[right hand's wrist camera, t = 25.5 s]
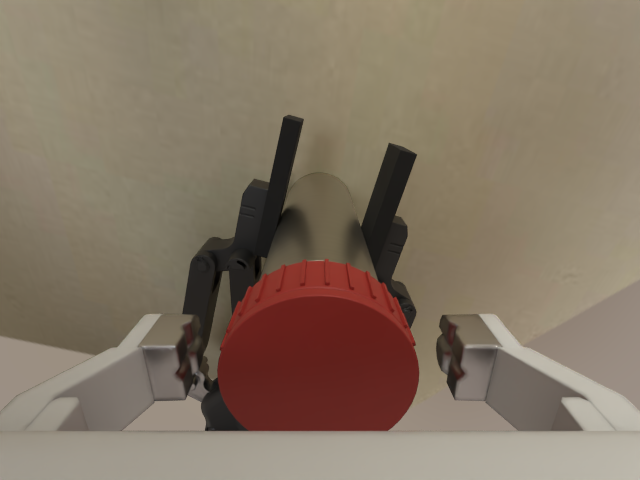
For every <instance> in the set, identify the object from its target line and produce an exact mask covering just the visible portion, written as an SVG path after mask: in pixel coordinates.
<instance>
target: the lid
mask: <svg viewBox="0 0 640 480" xmlns="http://www.w3.org/2000/svg"><path fill="white" fill-rule="evenodd" d="M415 345H416V344H415V341H414V338H413V336H412V333H411V331H410V328H409V326H408V323H407V321H406V318H405V316H404V313H403V312H402V310H401V307H400V305H399V302H398V300H397V298H396V297H394V298H393V297H392V295H391V294H390V293H389V292H388V290H387V287H386V284H385V283H384V282H383V283H382V284H381V283H380V282H378V281H377V280H376V279H375V278H373V277H372V276H371V275H370V272H368V271H366V272H363V271H361V270H359V269H357V268H355V267H352V266H351V265H350V263H346V264H342V263H337V262H331V261H329V259H325V261H307V260H306V259H305V260H302V262H300V263H295V264H292V265H288V266H285V264H284V265H281V268H280V269H278V270H276V271H273V272H272V273H270V274H268V275H267V274H266V273H265V274H264V275H263V276H262V279H261V280H260V281H259V282H257V283H256V284H255V285H254V286H253V287H251V286H249V287H248V289H247V291H246V294H245V297H244V298H243V300H242V302H240V301H238V303H237V305H236V308H235V310H234V313H233V315H232V318H231V320H230V323H229V325H228V328H227V330H226V334H225V337H224V339H223V342H222V344H221V347H220V350H221V354H220V357H219V362H218V370H217V371H218V384H219V388H220V392H221V395H222V398H223V400H224V402H225V404H226V406H227V408H228V409H229V411H230V412H231V414H232V415H233V416H234V417H235V419H236V420H237V421H238V422H239V423H240V424H241V425H242V426H243V427H245V428H246V429H247V430H249V431H388V430H389V429H391V428H392V427H393V426H394V425H395V424H396V423H397V422H398V421H399V420H400V419H401V418H402V417H403V416H404V414H405V413H406V412H407V410H408V409H409V407H410V405H411V404H412V402H413V399H414V397H415V394H416V391H417V387H418V382H419V366H418V360H417V356H416V352H415V349H414V347H413V346H415Z"/></svg>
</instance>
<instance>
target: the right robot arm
mask: <svg viewBox="0 0 640 480" xmlns="http://www.w3.org/2000/svg"><path fill="white" fill-rule="evenodd" d="M200 327H201V325H200V320H199V317H198V316H197V315H196V314H146V315H144V316H143V317H142V318H141V319H140V321H139V322H138V323H137V324H136V325H135V327H134V328H133V329H132V330H131V331H130V333H129V334H128V335H127V336H126V337H125V338H124V340H123V341H122V342H121V343H120V344H119V346H118V347H112V348H110V349H108V350H106V351H104V352H102V353H100V354H98V355H96V356H94V357H92V358H90V359H88V360H86V361H84V362H82V363H80V364H78V365H76V366H74V367H72V368H70V369H68V370H66V371H64V372H62V373H60V374H58V375H56V376H54V377H53V378H50V379H49V380H47V381H45V382H43V383H41V384H39V385H37V386H35V387H33V388H31V389H29V390H27V391H25V392H23V393H21V394H19V395H17V396H16V397H15V398H14V399H13V400H12V401H11V402H10V403H9V404H7V405H6V406H5V407H4V408H3V409H2V410H1V411H0V480H640V411H639V410H638V409H637V408H636V407H635V406H634V405H633V404H632V403H631V402H630V401H629V400H628V399H627V398H625V397H624V396H623V395H621V394H619V393H617V392H615V391H613V390H611V389H609V388H607V387H605V386H603V385H601V384H599V383H597V382H595V381H593V380H591V379H589V378H587V377H585V376H583V375H581V374H580V373H578V372H576V371H574V370H572V369H570V368H568V367H566V366H564V365H562V364H560V363H558V362H556V361H554V360H552V359H550V358H548V357H546V356H544V355H542V354H540V353H538V352H536V351H534V350H532V349H530V348H528V347H522V346H521V345H520V343H519V342H518V341H517V340H516V339H515V337H514V336H513V335H512V334H511V333H510V331H509V330H508V329H507V328H506V327H505V325H504V324H503V323H502V322H501V321H500V319H499V318H498V317H497V316H496V315H494V314H467V315H442V317H441V319H440V325H439V327H440V329H441V331H442V333H443V334H442V335H441V336H440V337H439V338H438V339H437V346H436V352H437V360H438V364H439V366H440V368H441V371H443V372H444V373H445V374H447V375H448V376H447V384H448V386H449V388H450V390H451V393H452V395H453V397H454V399H455V400H468V401H486V403H487V404H488V405H489V406H490V407H491V408H493V409H494V410H495V411H496V412H497V413H498V414H500V415H501V416H502V417H503V418H504V419H505V420H507V421H508V422H509V423H510V424H511V425H512V426H513V427H515V428H516V429H517V430H518V431H122V430H123V429H124V428H125V427H127V426H128V425H129V424H130V423H131V422H132V421H134V420H135V419H136V418H137V417H138V416H139V415H141V414H142V413H143V412H144V411H145V410H146V409H148V408H149V407H150V406H151V405H152V404H153V403H154V401H172V400H185V399H186V397H187V395H188V393H189V391H190V388H191V386H192V384H193V376H192V375H193V374H195V373H196V372H197V371H199V368H200V366H201V364H202V359H203V354H204V345H203V339H202V338H201V337H200V336H199V335H198V334H197V333H198V331H199V329H200Z"/></svg>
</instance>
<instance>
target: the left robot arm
mask: <svg viewBox="0 0 640 480" xmlns="http://www.w3.org/2000/svg"><path fill="white" fill-rule="evenodd" d="M303 121H304V119H302V118H298V117H295V116H291V115H287V116H285V117H284V118H283V122H282V127H281V132H280V136H279V141H278V146H277V150H276V155H275V159H274V164H273V169H272V173H271V178H270V183H268V182H265V181H261V180H257V179H254V180H253V181H252V182H251V183H250V184H249V186H248V187H247V189H246V190H245V192H244V193H243V196H242V201H241V207H240V212H239V217H238V222H237V228H236V233H235V237H234V238H231V239H223V240H222V239H220V238H218V237H213V238H210V239H209V240H207V242H206V243H205V244H204V245H203V246H202V248H201V249H200V250H199V251H198V253H197V254H196V255H195V256H194V258H193V259H192V261H191V264H190V270H189V277H188V283H187V289H186V295H185V302H184V308H183V314H196V315H197V316H198V317H199V320H200V325H201V327H200V329H199V331H198V333H197V334H198V335H199V336H200V337H201V338H202V339H203V345H204V352H205V349H206V347H207V345H208V341H209V337H210V332H211V327H212V322H213V317H214V312H215V307H216V302H217V297H218V292H219V287H220V281H221V276H222V271H229V276H230V291H231V305H232V315H233V313H234V310H235V308H236V305H237V303H238V301H240V302H242V300H243V298H244V297H245V294H246V291H247V289H248V287H249V286H251V287H253V286H254V285H255V284H256V283H257V282H259V280H260V277H261V274H262V272H261V257H265V258H267V256H268V253H269V250H270V247H271V244H272V241H273V238H274V235H275V232H276V229H277V226H278V224H279V221H280V218H281V214H282V209H283V205H284V201H285V197H286V193H287V188H288V184H289V180H290V176H291V171H292V167H293V163H294V159H295V154H296V150H297V146H298V142H299V137H300V133H301V129H302V125H303ZM416 156H417V154H415V153H413V152H411V151H410V150H408V149H406V148H404V147H402V146H398V145H394V144H391V143H389V144H388V147H387V151H386V154H385V157H384V160H383V163H382V166H381V169H380V172H379V175H378V178H377V181H376V184H375V187H374V190H373V193H372V196H371V199H370V202H369V205H368V208H367V211H366V214H365V217H364V220H363V223H362V226H361V230H362V233H363V236H364V239H365V242H366V245H367V248H368V251H369V254H370V257H371V260H372V263H373V266H374V270H375V273H376V276H377V279H378V282H380V283H381V284H382V283H383V282H384V283H385V284H386V287H387V290H388V292H389V293H390V294H391V295H392V297H393V298H394V297H396V298H397V300H398V302H399V305H400V307H401V310H402V312H403V313H404V316H405V318H406V321H407V323H408V326H409V328H411V326H412V323H413V321H414V318H415V316H416V309H415V307H414V304H413V302H412V300H411V298H410V296H409V294H408V291H407V289H406V287H405V285H404V284H403V283H401V282H399V281H394V280H393V279H391V278H392V275H393V273H394V270H395V267H396V265H397V262H398V260H399V257H400V254H401V252H402V249H403V246H404V244H405V242H406V239H407V225H406V224H405V222H404V221H403V219H402V218H401V217H398V216H395V213H396V211H397V208H398V205H399V203H400V200H401V197H402V194H403V192H404V189H405V186H406V183H407V181H408V178H409V175H410V172H411V170H412V167H413V164H414V161H415V159H416ZM207 361H208V359H207V357H205V356H203V359H202V364H201V366H200V368H199V371H197V372H196V373H195V374H193V375H192V376H193V384H192V386H191V388H190V391H189V393H188V396H190V397H192V398H194V399H196V400H198V401H200V402H202V403H201V409H202V413H203V415H204V417H205V419H206V428H205V431H249V430H247V429H246V428H245V427H243V426H242V425H241V424H240V423H239V422H238V421H237V420H236V419H235V417H234V416H233V415H232V414H231V412H230V411H229V409H228V408H227V406H226V404H225V402H224V400H223V398H222V395H221V392H220V388H219V384H218V377H217V378H216V379H215V380H213V381H212V380H211V379H210V378H209V376H208V371H209V365H208V364H207Z"/></svg>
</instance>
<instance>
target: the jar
mask: <svg viewBox="0 0 640 480" xmlns="http://www.w3.org/2000/svg"><path fill="white" fill-rule="evenodd" d="M305 259H306V260H307V261H325V259H329V261H331V262H337V263H342V264H346V263H350V265H351V266H352V267H355V268H357V269H359V270H361V271H363V272H366V271H368V272H370V275H371V276H372V277H373V278H375V279H376V280H377V281H378V279H377V276H376V273H375V270H374V266H373V263H372V260H371V257H370V254H369V251H368V248H367V245H366V242H365V239H364V236H363V233H362V230H361V227H360V223H359V220H358V217H357V214H356V211H355V208H354V205H353V202H352V199H351V196H350V193H349V191H348V189H347V187H346V186H345V185H344V183H343V182H342V181H340V180H339V179H338V178H336V177H334V176H332V175H330V174H326V173H313V174H309V175H306V176H304V177H302V178H301V179H299V180H298V181H297V182H296V183H295V184H294V185H293V186H292V188H291V189H290V192H289V194H288V197H287V200H286V203H285V206H284V209H283V212H282V215H281V218H280V221H279V224H278V226H277V229H276V232H275V235H274V238H273V241H272V244H271V247H270V250H269V253H268V256H267V259H266V262H265V265H264V268H263V271H262V274H261V277H260V280H261V279H262V276H263V275H264V274H265V273H266V274H267V275H268V274H270V273H272V272H273V271H276V270H278V269H280V268H281V265H284V264H285V266H288V265H292V264H295V263H300V262H302V260H305ZM260 280H259V281H260Z"/></svg>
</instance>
